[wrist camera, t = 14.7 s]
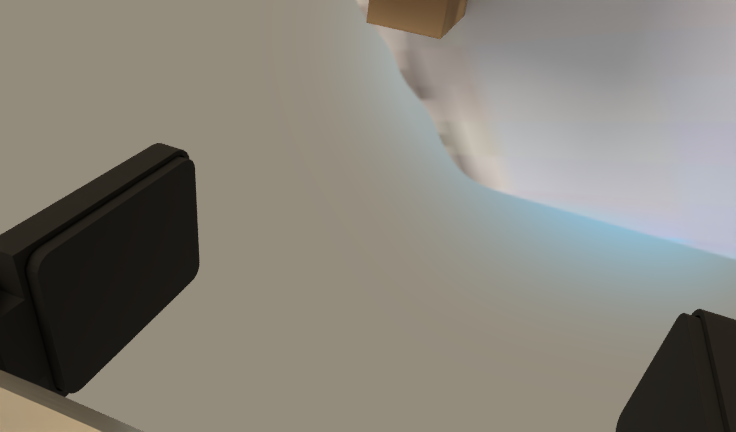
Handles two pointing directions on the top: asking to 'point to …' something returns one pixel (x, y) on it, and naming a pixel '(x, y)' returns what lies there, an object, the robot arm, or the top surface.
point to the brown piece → (417, 15)
